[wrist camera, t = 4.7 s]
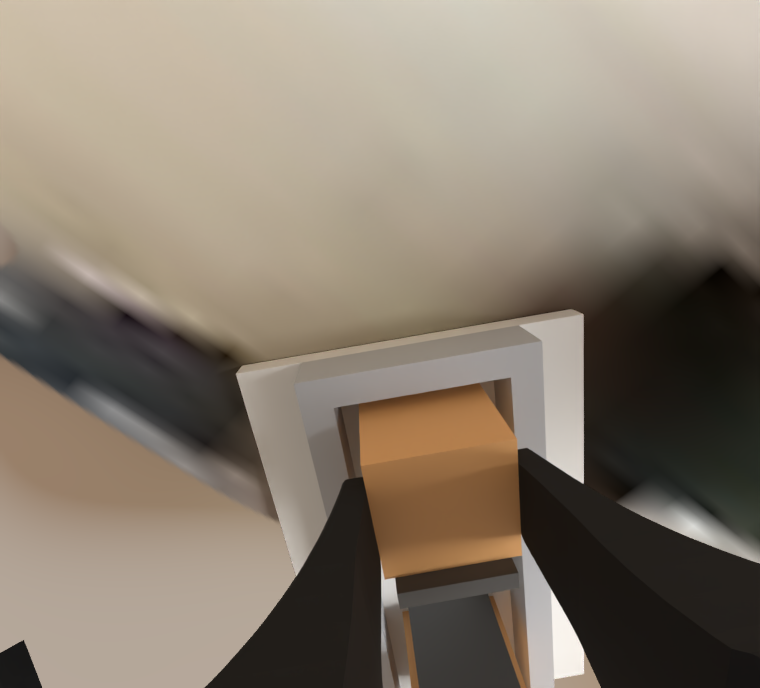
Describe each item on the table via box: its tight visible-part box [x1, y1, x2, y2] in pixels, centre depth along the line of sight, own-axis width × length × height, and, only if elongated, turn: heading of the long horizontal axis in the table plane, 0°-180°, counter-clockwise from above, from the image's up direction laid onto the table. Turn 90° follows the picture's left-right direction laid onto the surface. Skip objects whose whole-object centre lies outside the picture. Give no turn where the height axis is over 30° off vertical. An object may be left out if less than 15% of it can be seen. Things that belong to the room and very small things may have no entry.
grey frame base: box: [236, 309, 584, 688], centre depth 15 cm, size 12×18×5 cm, turn 9°
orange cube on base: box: [359, 383, 522, 609], centre depth 12 cm, size 4×5×4 cm
